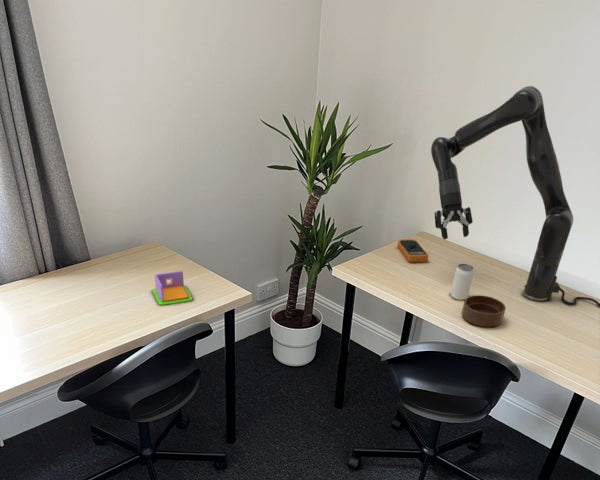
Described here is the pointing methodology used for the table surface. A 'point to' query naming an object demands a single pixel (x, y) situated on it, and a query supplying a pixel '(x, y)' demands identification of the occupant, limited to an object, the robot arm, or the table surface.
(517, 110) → the robot arm
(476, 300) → the bowl
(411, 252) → the multimeter
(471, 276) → the can
